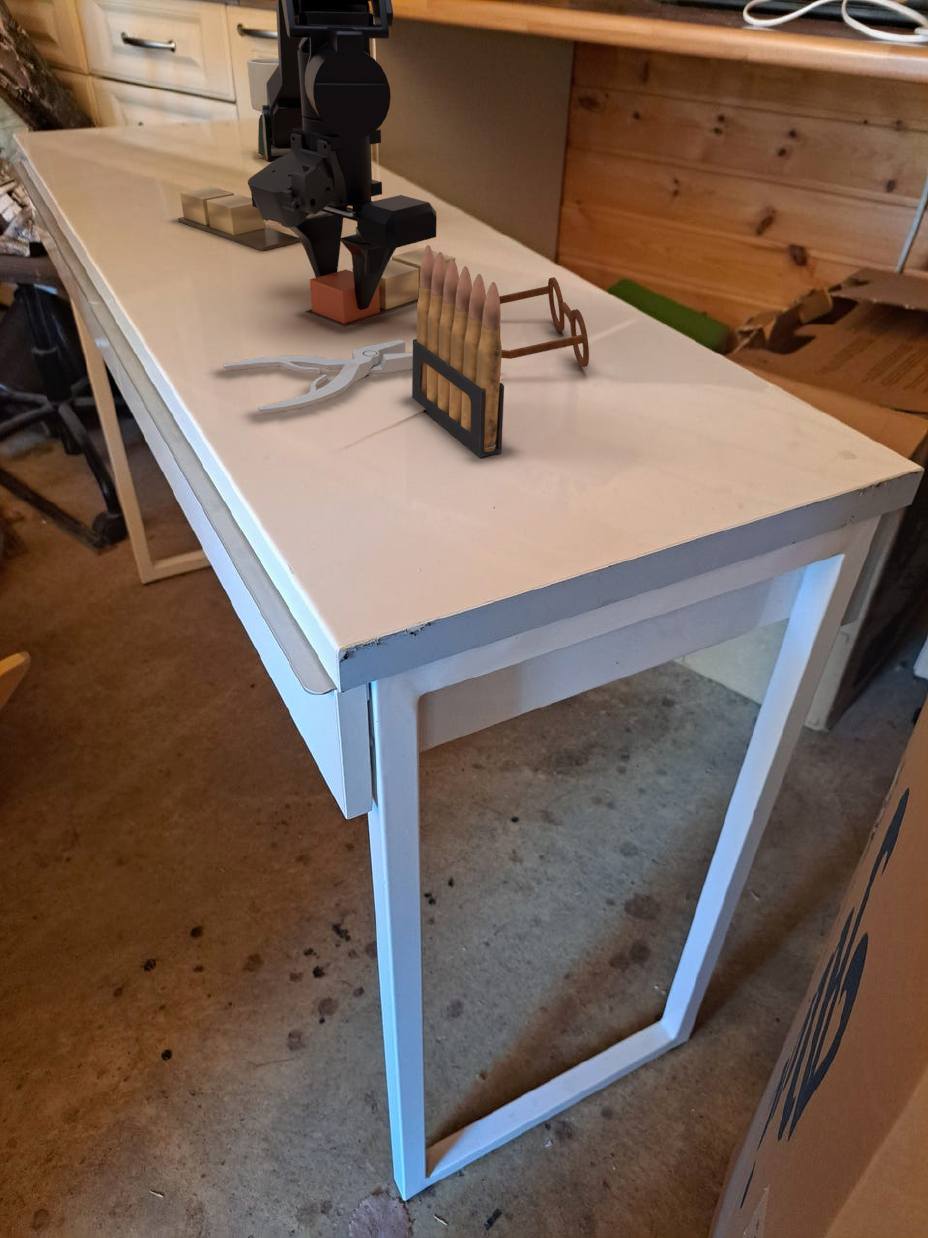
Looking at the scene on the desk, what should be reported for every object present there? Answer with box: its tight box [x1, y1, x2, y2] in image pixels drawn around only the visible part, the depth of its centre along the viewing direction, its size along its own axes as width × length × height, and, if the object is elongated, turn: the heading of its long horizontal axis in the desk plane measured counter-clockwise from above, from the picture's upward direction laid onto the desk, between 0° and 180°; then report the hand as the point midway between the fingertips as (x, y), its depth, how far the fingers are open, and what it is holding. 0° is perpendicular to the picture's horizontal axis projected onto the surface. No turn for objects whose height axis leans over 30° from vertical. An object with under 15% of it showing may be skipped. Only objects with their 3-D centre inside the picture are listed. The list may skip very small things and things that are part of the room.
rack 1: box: [177, 185, 301, 252], centre depth 104 cm, size 16×6×3 cm, turn 49°
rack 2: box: [304, 247, 456, 328], centre depth 86 cm, size 16×6×3 cm, turn 139°
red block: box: [309, 269, 380, 324], centre depth 83 cm, size 5×5×3 cm
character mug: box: [246, 57, 279, 157], centre depth 134 cm, size 11×7×13 cm, turn 26°
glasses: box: [499, 276, 590, 368], centre depth 77 cm, size 13×13×5 cm
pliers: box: [222, 339, 413, 415], centre depth 72 cm, size 10×2×15 cm
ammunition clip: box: [411, 244, 505, 459], centre depth 63 cm, size 11×2×12 cm, turn 30°
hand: (345, 301), depth 83 cm, fingers closed on red block, 4 cm apart
